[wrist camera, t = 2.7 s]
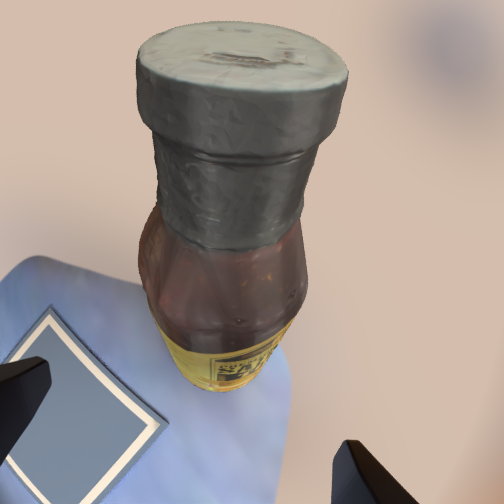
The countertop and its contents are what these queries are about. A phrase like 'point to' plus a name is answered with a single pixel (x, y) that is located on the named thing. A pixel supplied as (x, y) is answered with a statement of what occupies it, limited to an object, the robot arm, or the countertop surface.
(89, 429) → the plate
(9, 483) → the countertop surface
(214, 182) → the sauce bottle
